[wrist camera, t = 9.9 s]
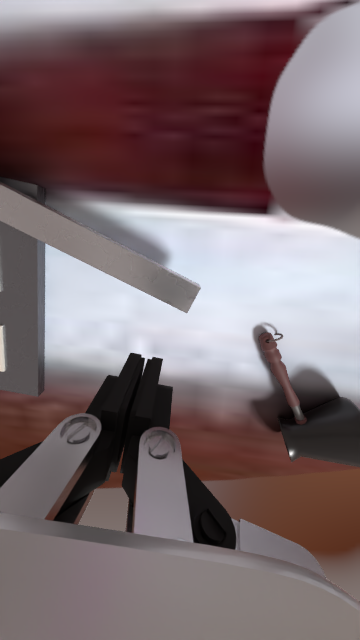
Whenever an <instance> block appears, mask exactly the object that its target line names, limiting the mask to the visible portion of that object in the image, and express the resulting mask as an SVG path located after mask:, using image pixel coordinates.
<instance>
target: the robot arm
mask: <svg viewBox="0 0 360 640" xmlns="http://www.w3.org/2000/svg"><path fill="white" fill-rule="evenodd" d="M144 361H145V358H141V355H140V354H135V353H130V355H129V357H128V359H127V361H126V363H125V365H124V367H123V369H122V371H121V373H120V375H119V377H117V376H112V375H108V376H107V377H106V379H105V381H104V382H103V384H102V386H101V387H100V389H99V391H98V392H97V394H96V396H95V397H94V399H93V401H92V403H91V404H90V406H89V408H88V409H87V411H86V413H83V414H76V415H72V416H70V417H68V418H66V419H65V420H64V421H62V422H61V423H60V424H59V425H58V426H57V427H56V428H55V429H54V430H53V432H52V433H51V434H50V435H49V436H48V437H47V438H46V439H45V440H44V441H42V442H40V443H38V444H35V445H33V446H31V447H28V448H26V449H24V450H21V451H19V452H17V453H14V454H12V455H10V456H7V457H5V458H3V459H0V640H360V601H358V600H357V599H356V598H355V597H353V596H352V595H350V594H349V593H348V592H346V591H345V590H343V589H342V588H340V587H339V586H337V585H336V584H334V583H333V582H331V581H329V580H328V579H326V577H325V574H324V572H323V570H322V568H321V567H320V565H319V564H318V562H317V561H316V559H315V558H314V557H313V556H312V555H311V554H310V553H309V552H308V551H307V550H306V549H304V548H303V547H302V546H300V545H298V544H296V543H294V542H292V541H289V540H287V539H285V538H283V537H281V536H278V535H276V534H274V533H272V532H269V531H267V530H265V529H263V528H260V527H258V526H256V525H254V524H252V523H249V522H247V521H245V520H243V519H240V520H239V521H236V520H234V519H232V518H231V517H230V516H229V514H228V513H227V511H226V510H225V509H224V507H223V506H222V505H221V504H220V503H219V501H218V500H217V499H216V498H215V497H214V496H213V494H212V493H211V492H210V491H209V490H208V489H207V487H206V486H205V485H204V484H203V483H202V482H201V480H200V479H199V478H198V477H197V476H196V475H195V473H194V472H193V471H192V470H191V469H190V468H189V466H188V465H187V464H186V463H185V462H184V461H183V459H182V455H181V448H180V443H179V439H178V438H177V436H176V435H175V434H174V433H173V432H172V431H171V430H169V426H170V414H171V403H172V391H173V387H170V386H165V385H159V384H158V381H159V376H160V371H161V366H162V361H163V359H161V358H156V357H152V360H151V359H148V360H147V363H146V366H145V369H144V372H143V367H144ZM142 372H143V375H142ZM124 445H125V446H124ZM123 448H124V452H123ZM122 452H123V458H122V465H121V471H120V473H124V475H123V481H122V487H123V488H124V490H125V492H126V494H127V495H128V497H129V500H128V507H127V518H126V530H125V532H122V531H116V530H109V529H102V528H96V527H90V526H83V525H78V524H79V522H80V520H81V518H82V516H83V514H84V512H85V510H86V508H87V506H88V504H89V502H90V500H91V498H92V496H93V493H94V490H95V489H96V488H97V487H99V486H100V485H102V484H103V483H105V481H108V480H109V477H110V474H111V471H112V472H116V471H117V468H118V465H119V462H120V458H121V455H122Z"/></svg>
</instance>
